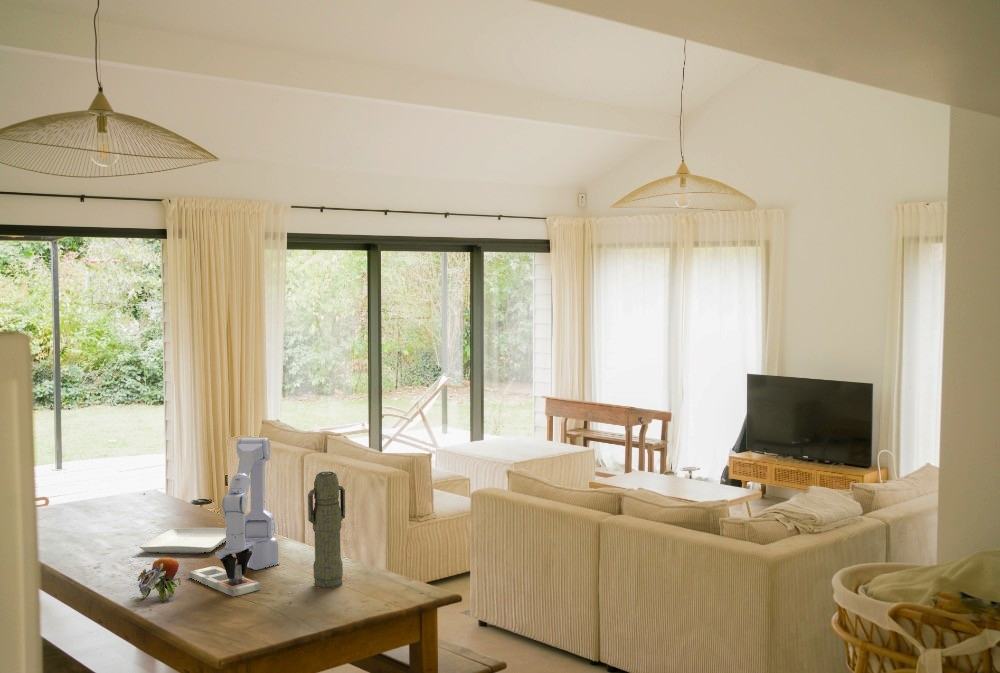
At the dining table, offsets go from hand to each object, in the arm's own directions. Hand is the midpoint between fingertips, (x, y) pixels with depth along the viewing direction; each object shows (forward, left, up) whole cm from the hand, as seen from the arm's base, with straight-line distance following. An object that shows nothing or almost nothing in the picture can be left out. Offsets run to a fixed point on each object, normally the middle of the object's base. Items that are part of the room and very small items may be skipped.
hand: (236, 576), depth 284 cm
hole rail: (0, -8, -4) cm, 9 cm away
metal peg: (0, 0, -3) cm, 3 cm away
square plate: (-15, -59, -4) cm, 61 cm away
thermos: (-22, +17, -4) cm, 28 cm away
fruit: (+10, -27, -4) cm, 29 cm away
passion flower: (+20, -11, -4) cm, 23 cm away
